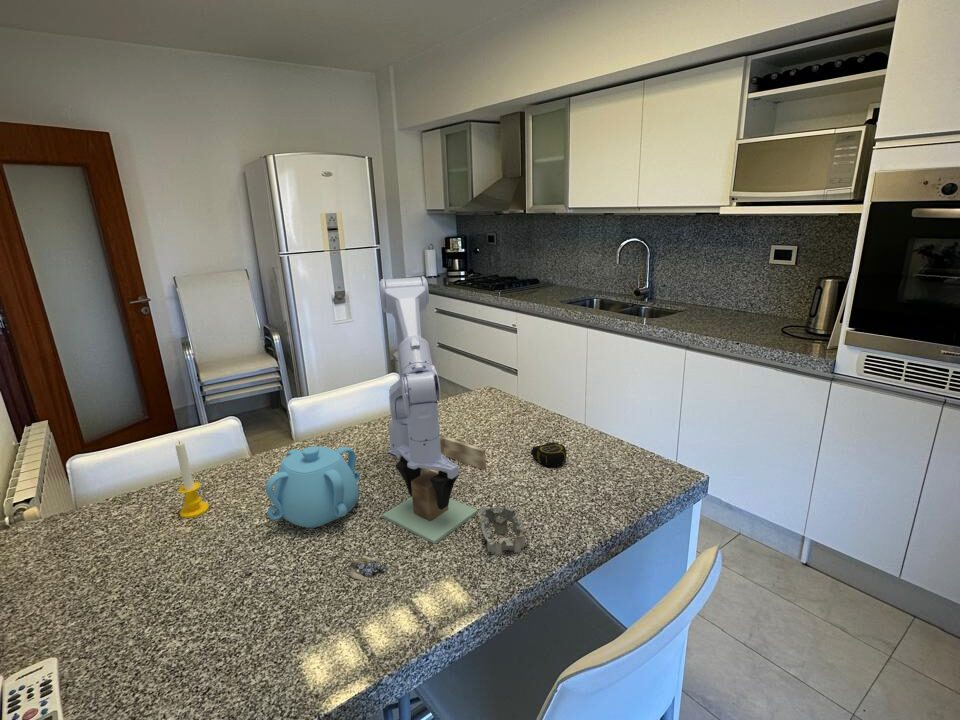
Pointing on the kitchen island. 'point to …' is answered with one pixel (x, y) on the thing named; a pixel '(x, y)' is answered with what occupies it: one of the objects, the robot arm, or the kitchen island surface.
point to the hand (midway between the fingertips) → (429, 500)
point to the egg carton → (502, 529)
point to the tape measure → (549, 454)
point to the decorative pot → (314, 486)
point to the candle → (189, 487)
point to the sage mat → (430, 529)
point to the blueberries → (366, 568)
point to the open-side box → (461, 453)
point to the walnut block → (425, 497)
